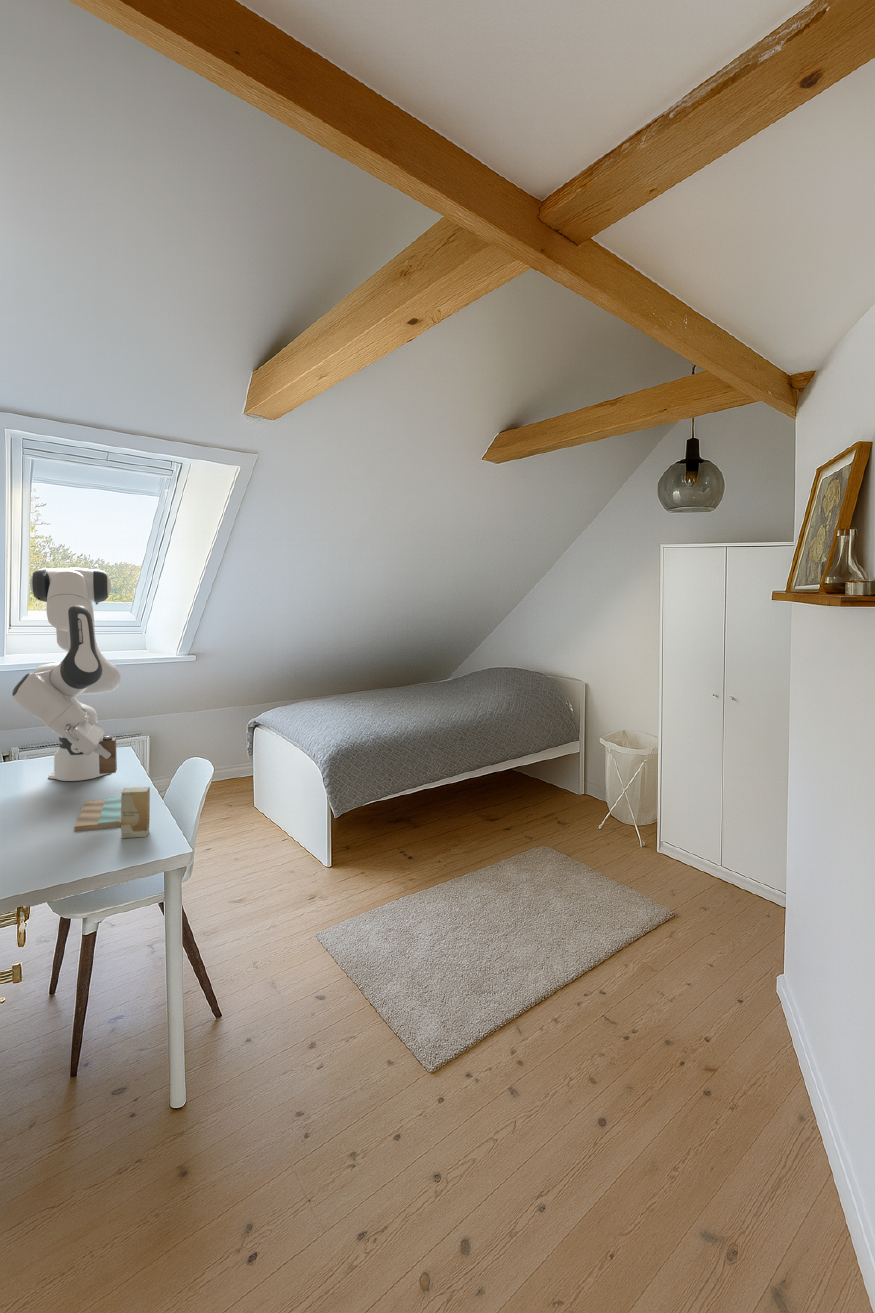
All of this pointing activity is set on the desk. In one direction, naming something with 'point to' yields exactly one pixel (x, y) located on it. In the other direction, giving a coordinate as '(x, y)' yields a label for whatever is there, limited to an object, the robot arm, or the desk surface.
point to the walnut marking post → (111, 762)
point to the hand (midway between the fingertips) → (110, 754)
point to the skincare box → (135, 812)
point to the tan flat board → (99, 814)
